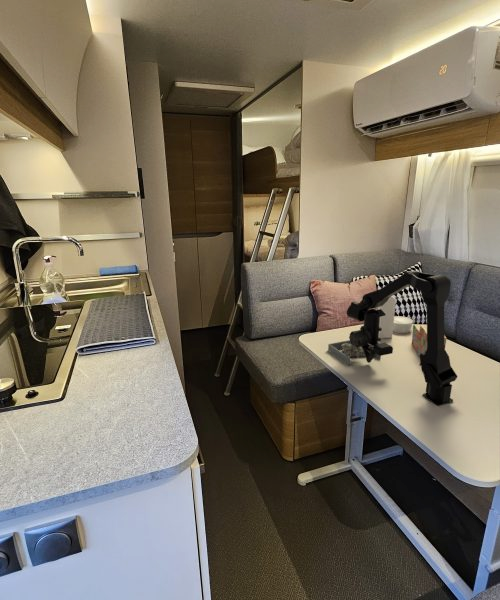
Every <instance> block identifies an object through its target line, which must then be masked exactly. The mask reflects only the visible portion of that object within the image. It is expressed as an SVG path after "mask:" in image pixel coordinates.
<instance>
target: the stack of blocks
mask: <svg viewBox="0 0 500 600" xmlns="http://www.w3.org/2000/svg"><path fill="white" fill-rule="evenodd" d="M447 340H448V339H447V337H446V335H445V334H444V348H445V349H446V346H447V345H446V344H447ZM411 344H412V346H413V348H414V349H415V350H414V351H416V353H417V354H418V357H420V353H423V352H426V350H427V324H418V323H417V324H415V323H413V324H412V338H411Z"/></svg>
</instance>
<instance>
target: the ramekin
mask: <svg viewBox="0 0 500 600" xmlns="http://www.w3.org/2000/svg"><path fill="white" fill-rule="evenodd" d="M413 325H414V320H413V319H412V318H410V317H406V316H400V315H399V316H397V315H394V324H393V333H397V334H407V333H409V332H410V331H411V329H412V327H413Z"/></svg>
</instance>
